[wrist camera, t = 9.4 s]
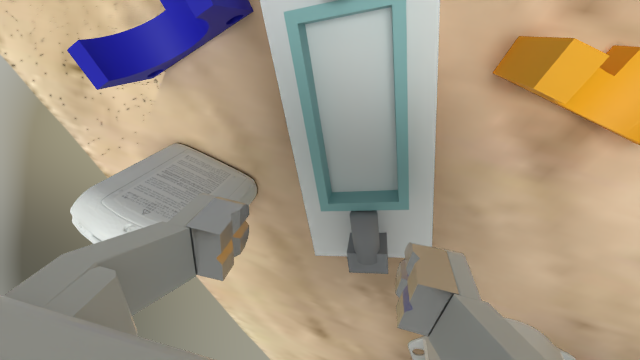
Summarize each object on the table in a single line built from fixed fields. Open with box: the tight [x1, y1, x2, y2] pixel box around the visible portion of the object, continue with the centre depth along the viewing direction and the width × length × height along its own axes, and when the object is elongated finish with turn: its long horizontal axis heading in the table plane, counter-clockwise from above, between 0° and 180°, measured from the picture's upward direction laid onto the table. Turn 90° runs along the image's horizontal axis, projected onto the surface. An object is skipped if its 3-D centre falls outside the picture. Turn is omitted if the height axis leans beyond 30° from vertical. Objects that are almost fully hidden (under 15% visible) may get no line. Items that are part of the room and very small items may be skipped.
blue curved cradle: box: [67, 0, 253, 90], centre depth 20 cm, size 12×4×6 cm, turn 116°
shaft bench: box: [260, 0, 440, 274], centre depth 20 cm, size 30×12×7 cm, turn 9°
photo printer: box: [70, 143, 257, 244], centre depth 24 cm, size 10×4×12 cm, turn 67°
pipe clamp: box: [493, 36, 640, 145], centre depth 16 cm, size 12×4×6 cm, turn 67°
